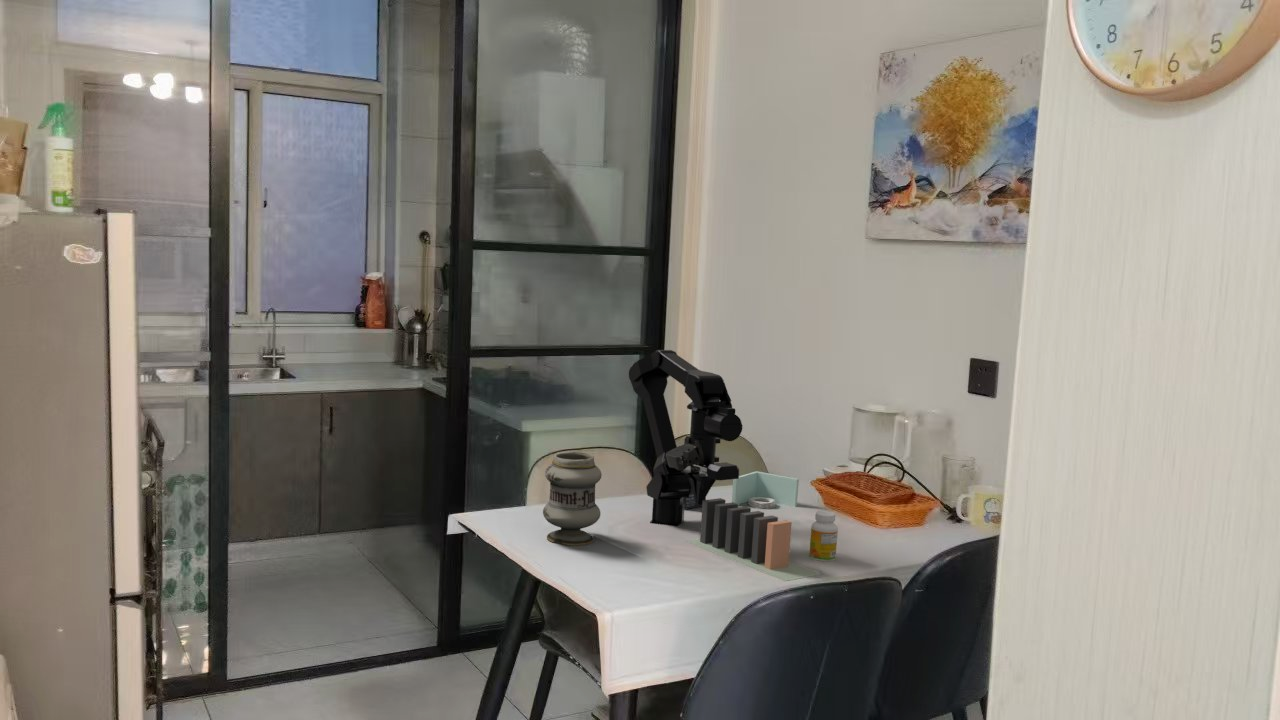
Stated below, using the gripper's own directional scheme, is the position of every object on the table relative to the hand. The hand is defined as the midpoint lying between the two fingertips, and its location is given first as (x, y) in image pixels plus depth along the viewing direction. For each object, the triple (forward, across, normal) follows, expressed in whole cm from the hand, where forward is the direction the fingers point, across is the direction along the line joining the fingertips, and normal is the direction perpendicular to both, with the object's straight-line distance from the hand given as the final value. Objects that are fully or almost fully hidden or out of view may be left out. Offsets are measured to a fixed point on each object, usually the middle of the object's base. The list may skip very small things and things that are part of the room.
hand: (698, 504), depth 227 cm
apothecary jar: (+8, -11, -26) cm, 29 cm away
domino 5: (+7, +21, 0) cm, 22 cm away
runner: (+8, +18, 0) cm, 19 cm away
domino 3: (+7, +13, 0) cm, 15 cm away
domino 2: (+7, +9, 0) cm, 11 cm away
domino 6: (+7, +25, 0) cm, 26 cm away
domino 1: (+7, +5, 0) cm, 9 cm away
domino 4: (+7, +17, 0) cm, 18 cm away
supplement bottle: (+8, +24, +14) cm, 29 cm away
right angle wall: (+8, -16, +35) cm, 40 cm away
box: (+8, -24, +17) cm, 30 cm away
